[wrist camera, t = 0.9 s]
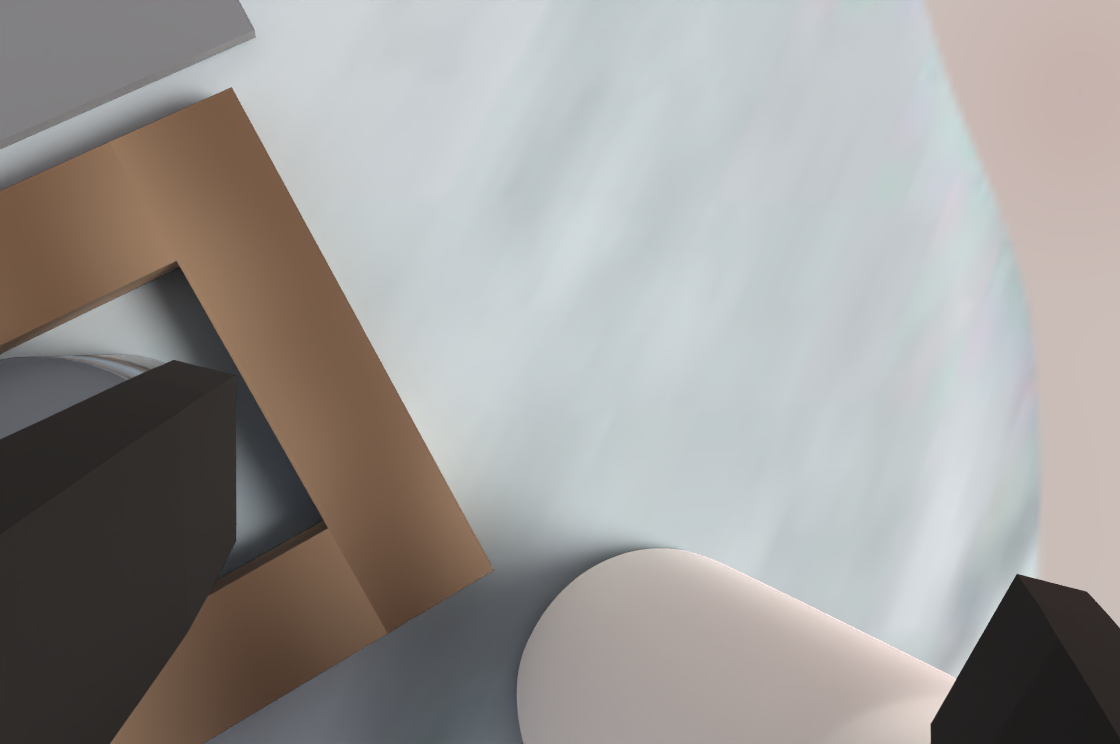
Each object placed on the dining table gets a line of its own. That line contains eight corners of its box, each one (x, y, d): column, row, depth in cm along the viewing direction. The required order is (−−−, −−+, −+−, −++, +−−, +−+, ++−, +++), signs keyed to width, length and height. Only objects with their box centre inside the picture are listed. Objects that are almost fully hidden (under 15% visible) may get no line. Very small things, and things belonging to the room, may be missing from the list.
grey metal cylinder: (70, 618, 20) (-39, 753, 14) (-51, 422, 20) (-229, 460, 13) (276, 505, 21) (270, 578, 14) (167, 315, 21) (107, 298, 14)
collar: (-2, 845, 20) (-20, 876, 19) (-324, 353, 18) (-364, 353, 17) (483, 558, 22) (494, 570, 21) (234, 102, 21) (231, 87, 20)
